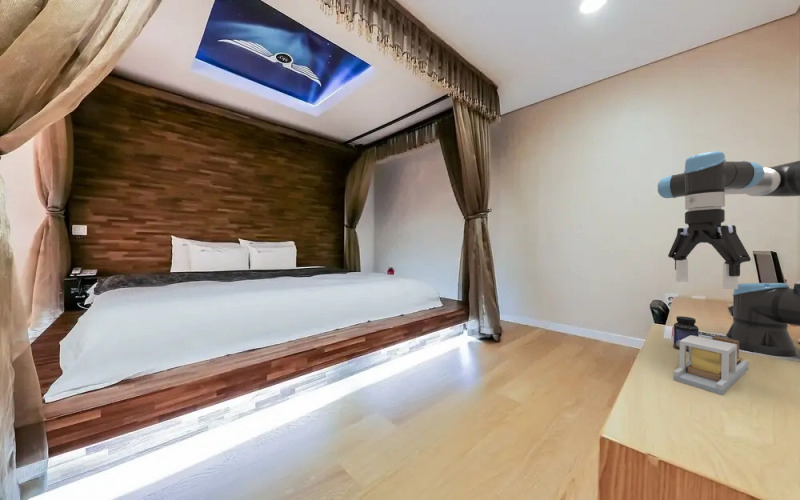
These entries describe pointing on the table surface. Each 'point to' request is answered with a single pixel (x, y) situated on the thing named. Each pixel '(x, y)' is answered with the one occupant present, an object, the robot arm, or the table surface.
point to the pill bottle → (684, 330)
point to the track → (728, 371)
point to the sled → (709, 361)
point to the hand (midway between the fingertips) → (704, 284)
